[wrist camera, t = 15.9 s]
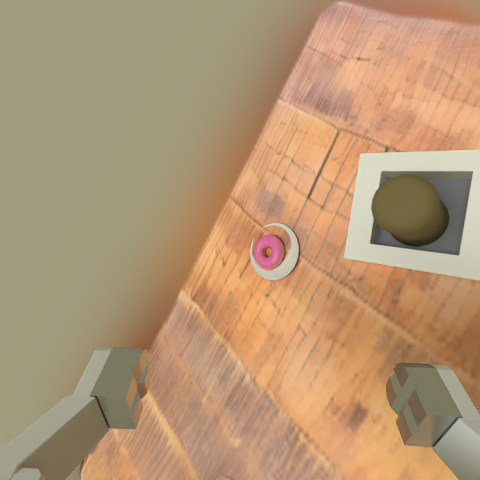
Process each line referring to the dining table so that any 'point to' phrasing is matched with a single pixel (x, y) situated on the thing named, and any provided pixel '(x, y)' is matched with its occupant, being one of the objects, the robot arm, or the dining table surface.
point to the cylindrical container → (223, 478)
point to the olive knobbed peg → (410, 210)
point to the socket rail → (450, 193)
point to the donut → (275, 255)
